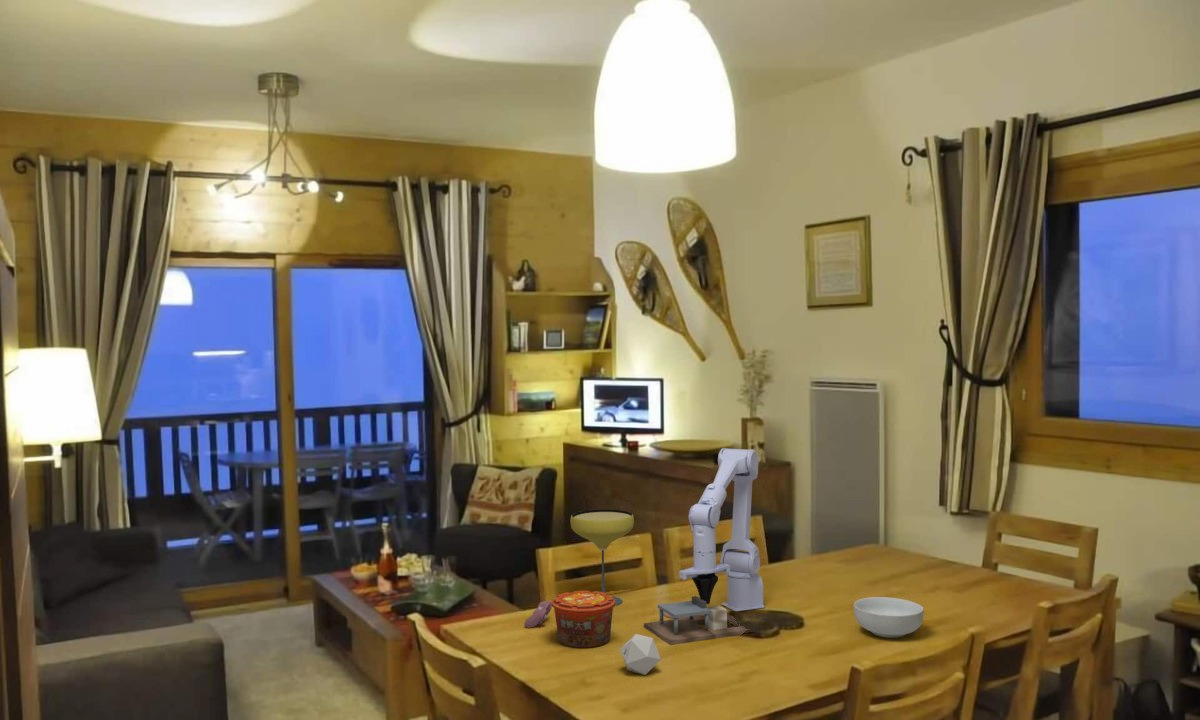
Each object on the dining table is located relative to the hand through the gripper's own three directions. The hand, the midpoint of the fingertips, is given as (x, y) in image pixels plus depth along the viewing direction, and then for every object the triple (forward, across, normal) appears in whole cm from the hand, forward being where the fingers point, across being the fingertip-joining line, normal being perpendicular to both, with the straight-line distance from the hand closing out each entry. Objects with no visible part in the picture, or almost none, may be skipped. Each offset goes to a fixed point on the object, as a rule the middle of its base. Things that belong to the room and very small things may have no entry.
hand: (705, 603), depth 252 cm
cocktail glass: (+7, +10, -36) cm, 38 cm away
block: (+7, -3, 0) cm, 7 cm away
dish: (+7, -2, -15) cm, 16 cm away
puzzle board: (+7, +2, 0) cm, 7 cm away
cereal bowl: (+7, -37, +27) cm, 46 cm away
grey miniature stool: (+5, +6, -1) cm, 8 cm away
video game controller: (+7, +34, -27) cm, 44 cm away
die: (+7, +30, +18) cm, 36 cm away
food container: (+7, +31, -8) cm, 33 cm away
